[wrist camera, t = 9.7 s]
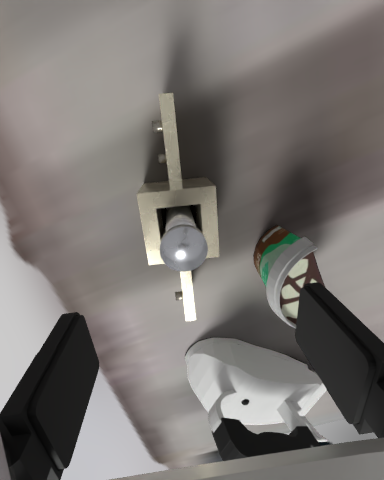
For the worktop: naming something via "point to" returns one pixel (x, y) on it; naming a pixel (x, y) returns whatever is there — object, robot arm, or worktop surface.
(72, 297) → the worktop surface
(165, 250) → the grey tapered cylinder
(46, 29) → the worktop surface
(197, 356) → the iron
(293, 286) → the food container
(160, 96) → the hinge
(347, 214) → the worktop surface
